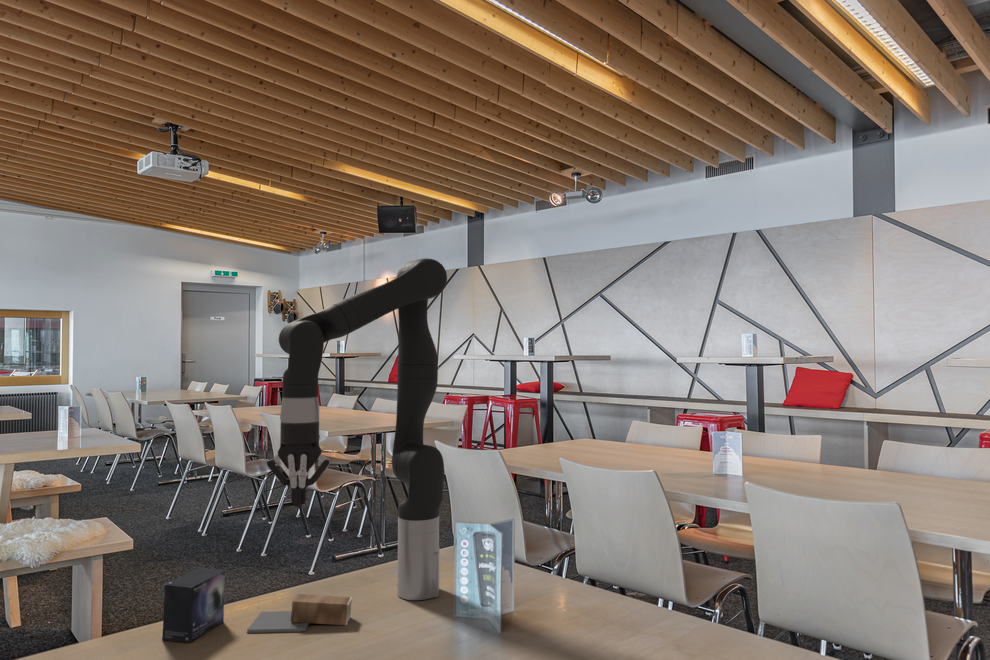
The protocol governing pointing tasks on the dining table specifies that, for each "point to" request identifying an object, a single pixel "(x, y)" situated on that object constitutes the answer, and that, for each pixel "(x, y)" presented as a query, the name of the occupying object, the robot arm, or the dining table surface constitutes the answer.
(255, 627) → the slate pad
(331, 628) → the dining table surface
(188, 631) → the small box
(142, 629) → the dining table surface
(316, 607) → the walnut block
